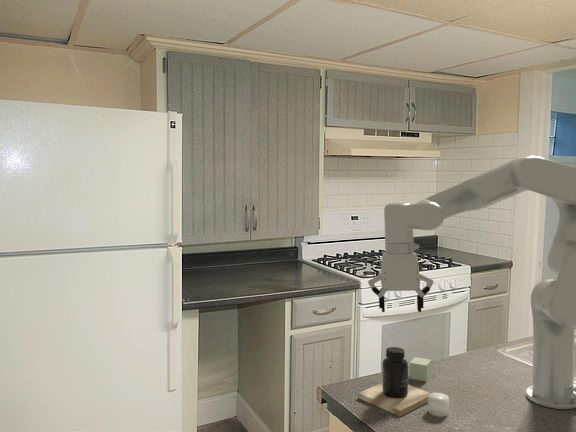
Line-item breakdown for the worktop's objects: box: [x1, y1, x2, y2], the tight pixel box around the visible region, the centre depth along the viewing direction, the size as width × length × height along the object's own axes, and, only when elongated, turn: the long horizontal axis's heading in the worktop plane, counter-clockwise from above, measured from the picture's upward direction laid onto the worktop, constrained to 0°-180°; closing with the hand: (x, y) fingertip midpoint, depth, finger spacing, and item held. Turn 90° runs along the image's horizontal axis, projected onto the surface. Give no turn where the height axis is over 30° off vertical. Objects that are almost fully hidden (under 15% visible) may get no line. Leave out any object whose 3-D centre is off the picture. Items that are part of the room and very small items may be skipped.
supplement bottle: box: [381, 346, 409, 398], centre depth 131 cm, size 7×7×12 cm
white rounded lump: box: [427, 392, 450, 418], centre depth 124 cm, size 5×5×4 cm
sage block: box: [409, 356, 432, 383], centre depth 145 cm, size 5×5×5 cm
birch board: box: [357, 382, 432, 417], centre depth 132 cm, size 14×14×2 cm
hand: (401, 310), depth 133 cm, fingers open, 9 cm apart
